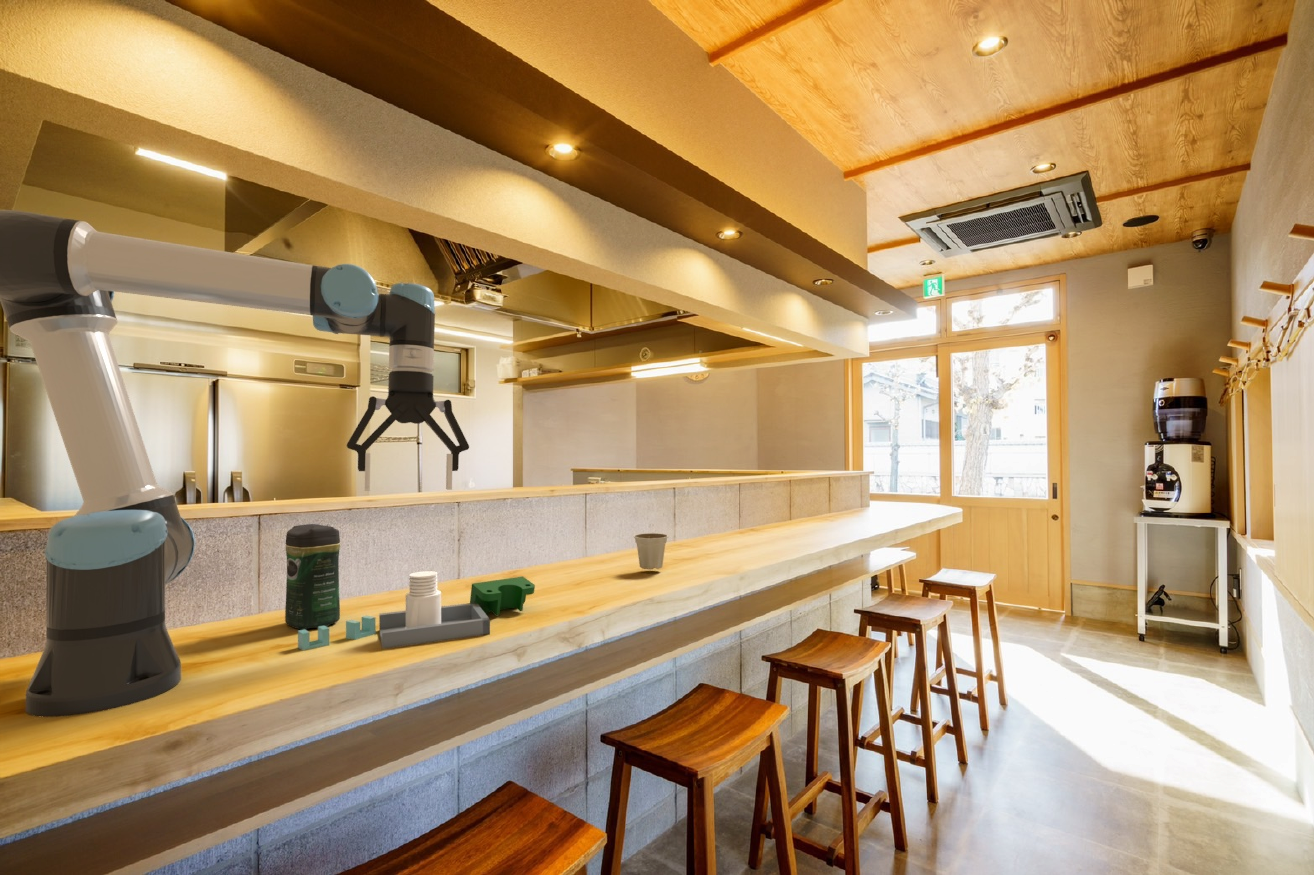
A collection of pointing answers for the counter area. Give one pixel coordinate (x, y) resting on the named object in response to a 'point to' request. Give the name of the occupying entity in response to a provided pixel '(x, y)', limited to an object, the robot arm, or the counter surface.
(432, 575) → the white stepped cylinder
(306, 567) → the coffee jar
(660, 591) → the counter surface
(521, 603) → the clamp
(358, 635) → the clips
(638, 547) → the flower pot
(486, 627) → the end holder
